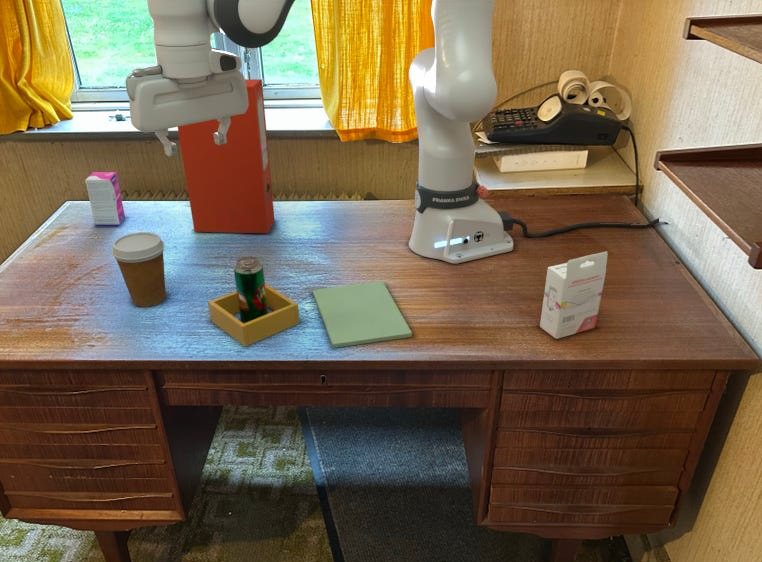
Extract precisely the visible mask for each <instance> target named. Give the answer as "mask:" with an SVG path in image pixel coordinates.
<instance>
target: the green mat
mask: <svg viewBox="0 0 762 562" xmlns="http://www.w3.org/2000/svg"><path fill="white" fill-rule="evenodd" d="M312 295H313V299H314V301H315V303H316V306H317V309H318V312H319V314H320V318H321V320H322V322H323V325H324V328H325V330H326V333H327V336H328V338H329V339H328V340H329V341H330V344H331V347H332V348H333V349H337V348H342V347H343V348H344V347H349V346H357V345H358V346H359V345H365V344H370V343H371V344H373V343H377V342H379V343H380V342H387V341H393V340H399V339H406V338H412V337H413V332H412V330H411V329H410V327H409V325H408V323H407V322H406V319H405V318H404V316H403V315H402V313H401V311H400V310H399V307H398V305H397V304H396V302H395V300H394V299H393V297H392V295H391V293H390V292H389V290H388V288H387V286H386V284H385V282H384V281H383V280H380V281H379V280H377V281H371V282H364V283H356V284H348V285H339V286H332V287H324V288H323V287H322V288H315V289H312Z"/></svg>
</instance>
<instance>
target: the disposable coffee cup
mask: <svg viewBox="0 0 762 562" xmlns="http://www.w3.org/2000/svg"><path fill="white" fill-rule="evenodd" d="M165 247H166V245H165V242H164V241H163V240H162V238H161V236H160V235H159V234H157V233H155V232H149V231H148V232H147V231H141V232H132V233H127V234H124V235H123V236H120V237H118V238H116V239H115V240H114V241H113V242H112V249H111V251H110V252H111V255H112V256H113V258H114V259H115V260H116V262H117V265H118V268H119V270H120V273H121V275H122V278H123V280H124V283H125V286H126V289H127V291H128V293H129V296H130V298H131V301H132V304H133V305H134V306H137V307H141V308H146V307H153V306H156V305H159V304H161V303H163V302H164V301H166V298H167V293H166V277H165V258H164V250H165Z"/></svg>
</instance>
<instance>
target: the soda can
mask: <svg viewBox="0 0 762 562" xmlns="http://www.w3.org/2000/svg"><path fill="white" fill-rule="evenodd" d="M233 276H234V283H235V290H236V291H237V298H238V305H239V319H240V320H239V321H241V322H242V323H247V322H249V321H252V320H254V319H257V318H259V317H262V316H264V315H266V314H269V307H268V306H267V298H266V288H265V284H266V280H265V271H264V265H263V264H262V262H261V259H260V258H258V257H255V256H244V257H241V258H239V259H237V260H236V261H235V263H234V267H233Z"/></svg>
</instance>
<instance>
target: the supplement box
mask: <svg viewBox="0 0 762 562" xmlns="http://www.w3.org/2000/svg"><path fill="white" fill-rule="evenodd" d="M84 181H85V186H86V191H87V195H88V199H89V203H90V208H91V212H92V217H93V221H94V226H95V227H96V228H101V227H102V228H103V227H105V228H106V227H109V228H113V227H119V226H120V225H121V223H122V222H123V221H124V220H125V218H126V214H125V209H124V205H123V199H122V195H121V194H122V193H121V190H120V185H119V180H118V175H117V172H115V171H105V172H104V171H99V172H98V171H93V172H92V173H91V174H90V175H89V176H88V177H86V179H84Z"/></svg>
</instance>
